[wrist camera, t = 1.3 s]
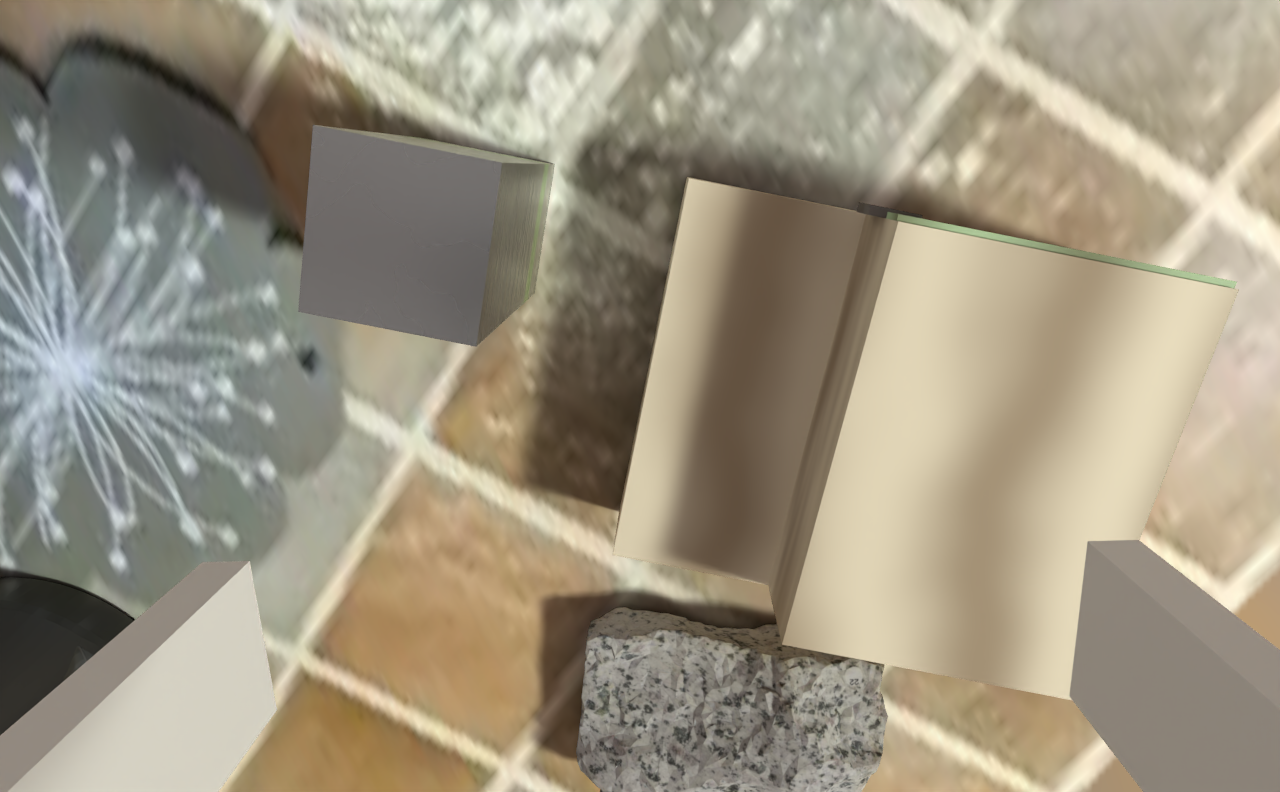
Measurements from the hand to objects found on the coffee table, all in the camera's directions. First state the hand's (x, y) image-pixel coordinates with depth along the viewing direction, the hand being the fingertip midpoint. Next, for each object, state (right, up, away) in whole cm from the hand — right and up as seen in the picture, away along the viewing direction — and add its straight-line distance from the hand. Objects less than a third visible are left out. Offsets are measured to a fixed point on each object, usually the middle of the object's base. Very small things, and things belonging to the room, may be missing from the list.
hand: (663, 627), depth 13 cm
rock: (+3, -10, +25) cm, 27 cm away
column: (-7, +11, +19) cm, 22 cm away
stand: (+8, +4, +20) cm, 22 cm away
